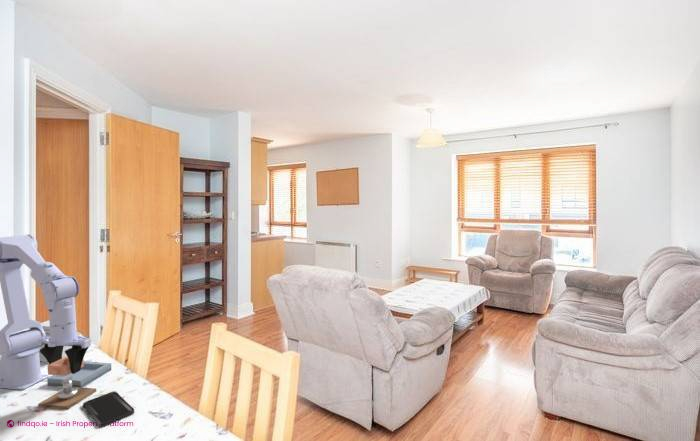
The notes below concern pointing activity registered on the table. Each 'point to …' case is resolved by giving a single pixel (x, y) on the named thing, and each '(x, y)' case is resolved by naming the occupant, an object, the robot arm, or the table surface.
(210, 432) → the table surface
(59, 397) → the grey stepped cylinder
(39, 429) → the table surface
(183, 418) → the table surface
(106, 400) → the phone
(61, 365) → the ring
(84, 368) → the tray
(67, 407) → the base
